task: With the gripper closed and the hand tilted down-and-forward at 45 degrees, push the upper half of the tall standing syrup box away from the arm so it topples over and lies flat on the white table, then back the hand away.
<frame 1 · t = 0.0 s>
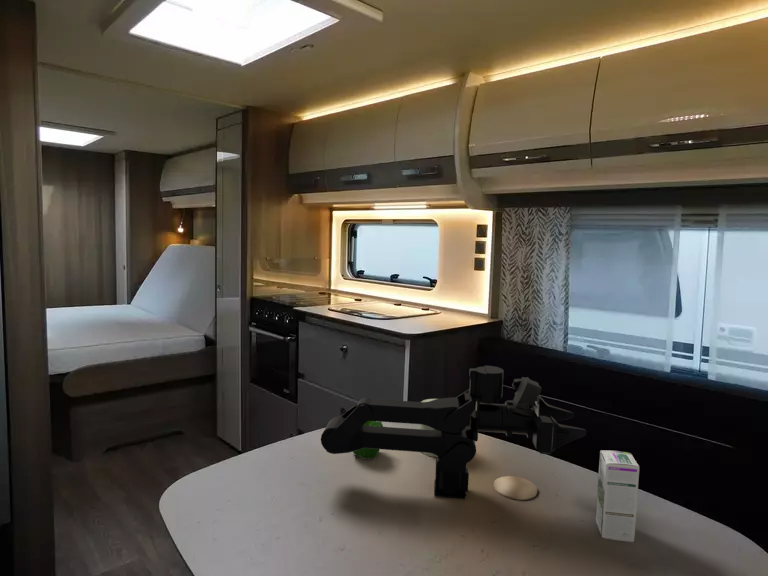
hand: (579, 423, 102), 17 cm above the table, tool horizontal, fingers open, 9 cm apart
cork coaster: (515, 488, 108), on the table
bell pepper: (365, 455, 122), on the table
syrup box: (613, 532, 93), on the table
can: (436, 449, 126), on the table
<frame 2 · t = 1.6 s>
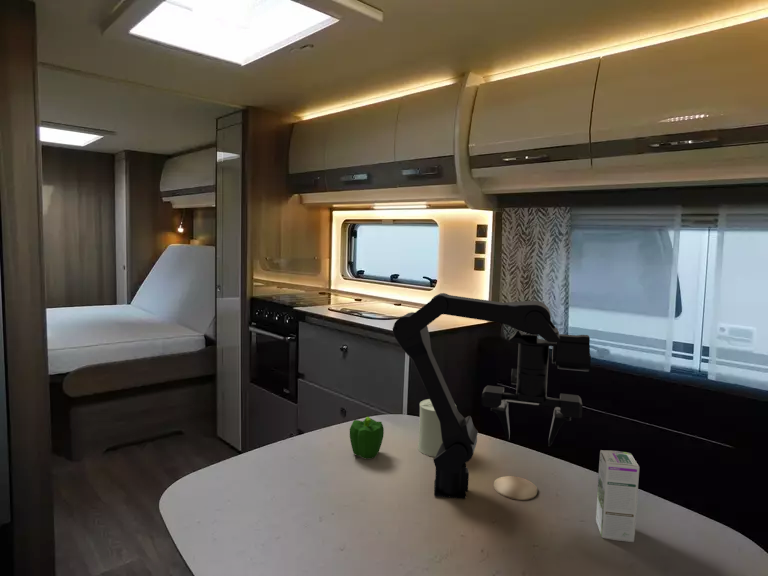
hand: (528, 442, 100), 13 cm above the table, tool pointing down, fingers open, 8 cm apart
nothing on the table moved.
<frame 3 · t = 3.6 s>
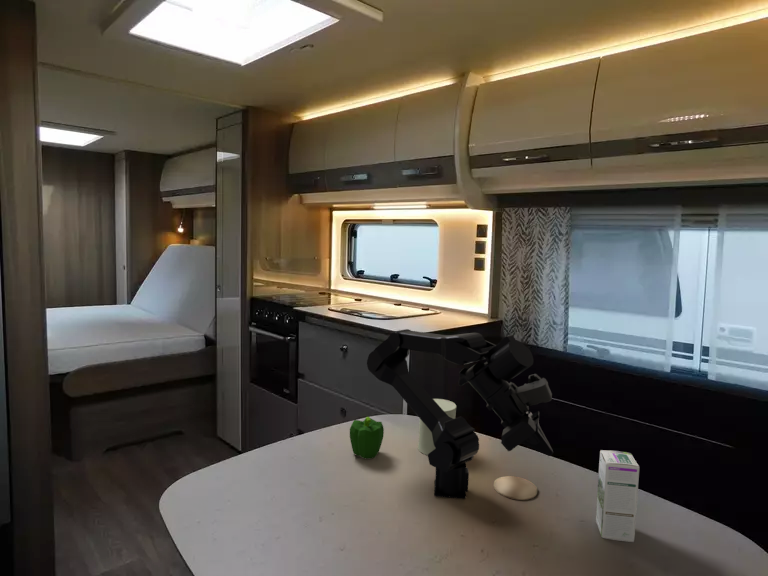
hand: (551, 454, 95), 13 cm above the table, tool tilted 45°, fingers closed
nothing on the table moved.
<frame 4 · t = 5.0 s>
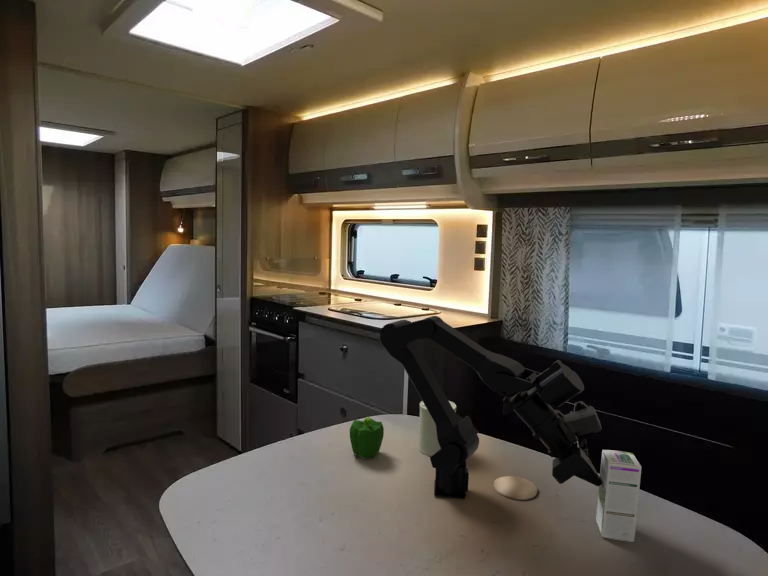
hand: (600, 484, 93), 9 cm above the table, tool tilted 45°, fingers closed
syrup box: (613, 532, 93), on the table, touching gripper
everything else where it was.
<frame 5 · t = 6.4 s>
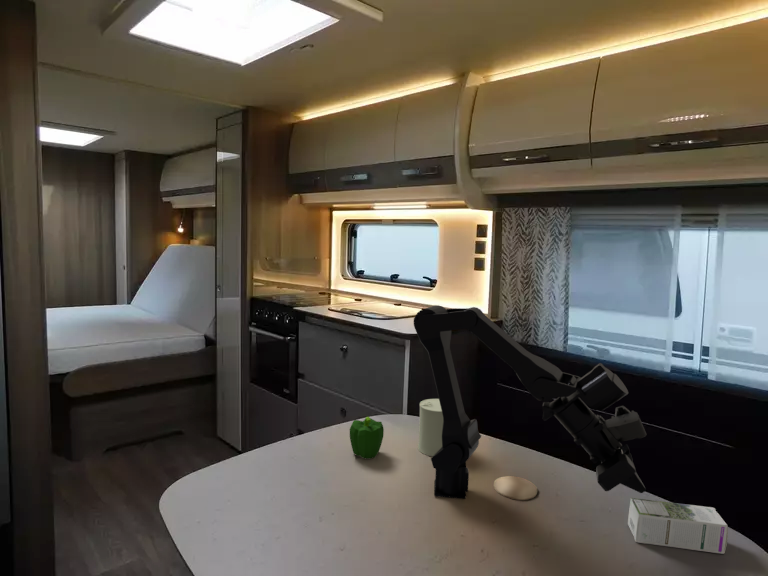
hand: (643, 491, 91), 9 cm above the table, tool tilted 45°, fingers closed
syrup box: (631, 518, 92), point 3 cm above the table
everything else where it was.
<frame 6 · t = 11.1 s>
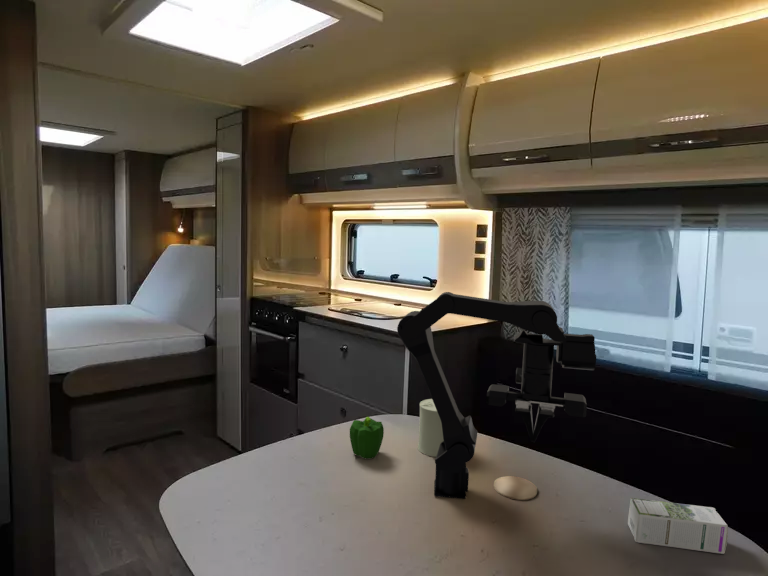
hand: (532, 441, 101), 13 cm above the table, tool pointing down, fingers closed
nothing on the table moved.
at the end: syrup box tilted 91°; syrup box moved 4.1 cm from its start; the gripper is holding nothing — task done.
